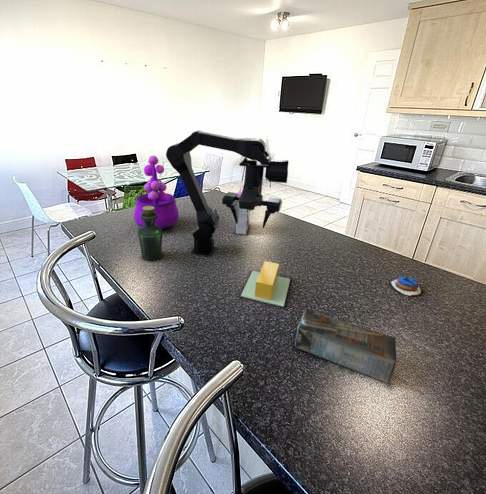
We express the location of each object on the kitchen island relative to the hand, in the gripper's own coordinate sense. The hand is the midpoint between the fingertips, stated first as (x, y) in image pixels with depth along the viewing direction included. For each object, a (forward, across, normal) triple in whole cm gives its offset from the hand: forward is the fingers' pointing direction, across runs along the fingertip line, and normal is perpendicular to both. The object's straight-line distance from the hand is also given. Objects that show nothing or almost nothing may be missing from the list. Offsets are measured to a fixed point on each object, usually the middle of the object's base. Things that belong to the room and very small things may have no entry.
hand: (249, 225), depth 98 cm
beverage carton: (+12, +30, -34) cm, 47 cm away
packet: (+12, +10, -16) cm, 22 cm away
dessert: (+12, +49, 0) cm, 50 cm away
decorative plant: (+12, -43, +11) cm, 46 cm away
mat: (+12, +10, -16) cm, 22 cm away
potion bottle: (+12, -31, -13) cm, 36 cm away
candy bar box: (+12, -8, +22) cm, 26 cm away
